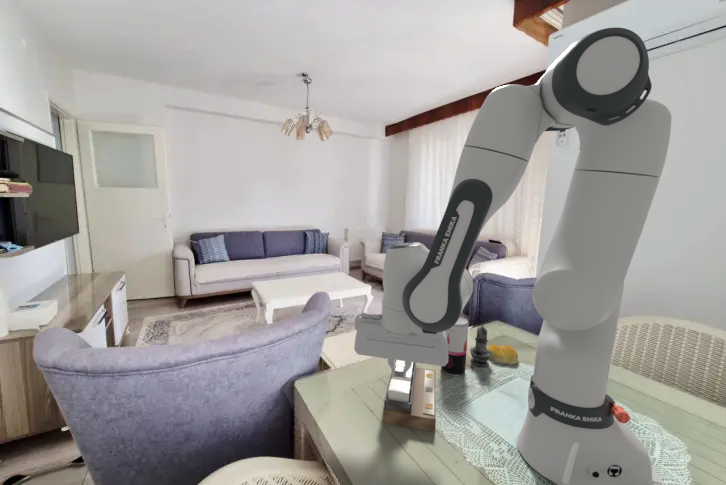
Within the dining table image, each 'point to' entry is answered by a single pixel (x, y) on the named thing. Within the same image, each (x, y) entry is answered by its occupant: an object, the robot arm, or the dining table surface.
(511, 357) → the bread roll
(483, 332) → the grey tiered upright piece
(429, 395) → the button board
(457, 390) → the dining table surface
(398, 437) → the dining table surface
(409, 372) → the button middle
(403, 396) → the button near
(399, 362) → the button far
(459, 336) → the beverage can
